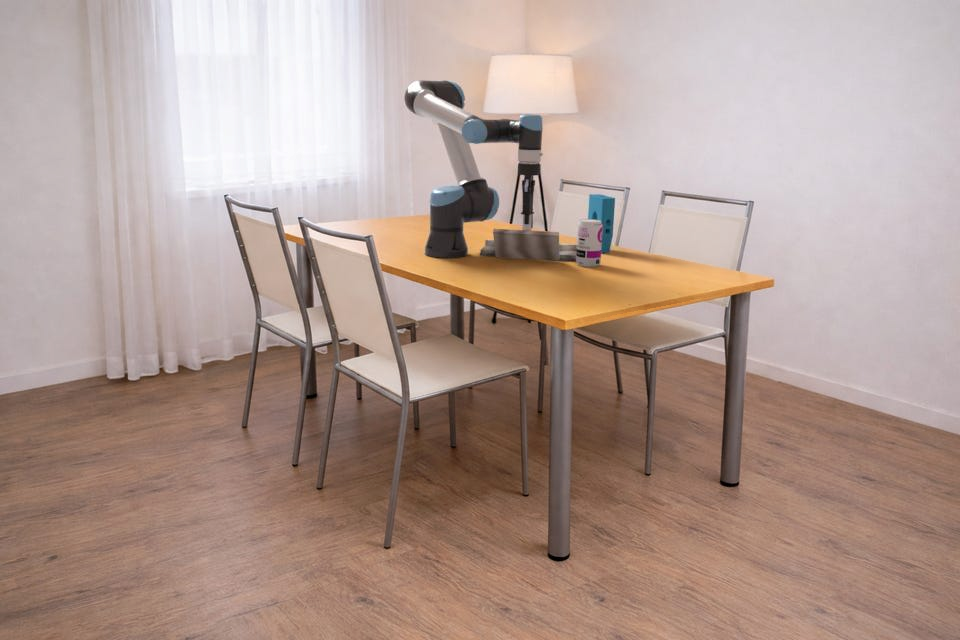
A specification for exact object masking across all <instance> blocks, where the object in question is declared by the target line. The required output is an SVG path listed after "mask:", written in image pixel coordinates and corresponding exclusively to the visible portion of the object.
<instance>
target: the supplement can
mask: <svg viewBox="0 0 960 640" xmlns="http://www.w3.org/2000/svg"><path fill="white" fill-rule="evenodd" d="M602 231H603V225H602V223H601V221H600V220H594V219H588V218H586V219H584V218H583V219H580V220H579V222H578V224H577V234H576V235H577V237H576V245H577V251H576V262H575V263H576V264H577V265H578V266H579V267H585V268H596V267H598V266H600V264H601V261H602V258H601V257H602V253H601V247H602Z"/></svg>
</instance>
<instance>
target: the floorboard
mask: <svg viewBox="0 0 960 640" xmlns="http://www.w3.org/2000/svg"><path fill="white" fill-rule="evenodd" d="M484 241H485V242H484V243H485V244H484V246H483V247H482V248H481V249H480V253H479V256H480V257H489V258H490V257H492V258H497V257H496V255H495V246H494V239H485V240H484ZM576 251H577V244H572V243H571V244H570V243H559V252H560V258H559V261H558V262H572V263H573V262H575V263H576Z"/></svg>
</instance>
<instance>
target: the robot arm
mask: <svg viewBox="0 0 960 640" xmlns="http://www.w3.org/2000/svg"><path fill="white" fill-rule="evenodd" d="M465 101H466V96H465V93H464V90H463V89H462V87H461V85H459V84H458V83H457V82H454V81H449V80H425V79H424V80H423V79H422V80H417V81H414V82H412V83H411V84H409V85H408V87H407V88H406V89H405V92H404V103H405V107H406V108H407V109H408V110H409V111H410V112H412V114H415V115H416V116H419V117H420V118H421V117H422V118H425V117H427V118H429V119H431V121H432V123H433V124H435V125H437V126H438V129H439V132H440V135H441V138H442V141H443V145H444V148H445V149H446V153H447V156H448V159H449V162H450V165H451V168H452V172H453V175H454V177H455V180H456V183H457V185H448V186H447V185H445V186H438V187H436V188H434V189H433V190H432V191H431V192H430V200H429V205H430V206H429V207H430V208H429V209H430V212H429V214H430V215H429V216H430V217H429V220H430V221H429V234H428V237H427V239H426V244H425V247H424V255H426V256H429V257H432V258H433V257H434V258H441V259H442V258H446V259H448V258H452V259H453V258H463V257H466V256H468V254H469V253H468V252H469V248H468V244H467V241H466V238H465V234H464V223H475V222H484V221H489V220H492V219H493V218H495V216H496V214H497V213H498V210H499V207H500V197H499V196H500V195H499V194H498V192H497V190H496V189H495V188H494V187H491V186H490V187H489V185H488V183H487V179H485V178H483V177H481V174H480V172H479V169H478V166H477V163H476V160H475V157H474V153H473V151H472V148H471V145H470V144H475V145H479V144H491V143H492V144H499V143H500V144H501V143H511V144H518V148H517V150H518V151H517V161H518V164H517V174H518V175H520V176H524V177H523V180H522V181H521V189H522V191H521V193H522V211H521V212H520V215H522V230H527V231H532V220H533V219H532V215H534V214H535V212H534V208H533V207H534V206H533V205H534V194H535V185H536V180H535V179H534V176H540V175H541V166H542V165H541V161H542V157H543V155H544V153H543V152H542V144H543V143H542V139H543V130H544V129H543V128H544V127H543V117H542V116H541V115H540V114H525V113H524V114H520V115H519V120H518V119H509V118H500V119H499V118H498V119H483V118H481V117H479V116H477V115H475V114H473V113H471V112H469V111H468V110H465V109H464V108H465V105H466V103H465Z"/></svg>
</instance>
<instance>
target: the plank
mask: <svg viewBox="0 0 960 640" xmlns="http://www.w3.org/2000/svg"><path fill="white" fill-rule="evenodd" d="M492 234H493V240H494V246H495V255H496V257H495V258H506V259H521V260H523V259H524V260H537V261H538V260H539V261H540V260H541V261H555V262H556V261H557V262H560V261H559V258H560V252H559V244H560V232H558V231H544V230H542V231H541V230H540V231H539V230H531V231H527V230H523V229H510V228H509V229H508V228H507V229H504V228H493V231H492Z"/></svg>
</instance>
